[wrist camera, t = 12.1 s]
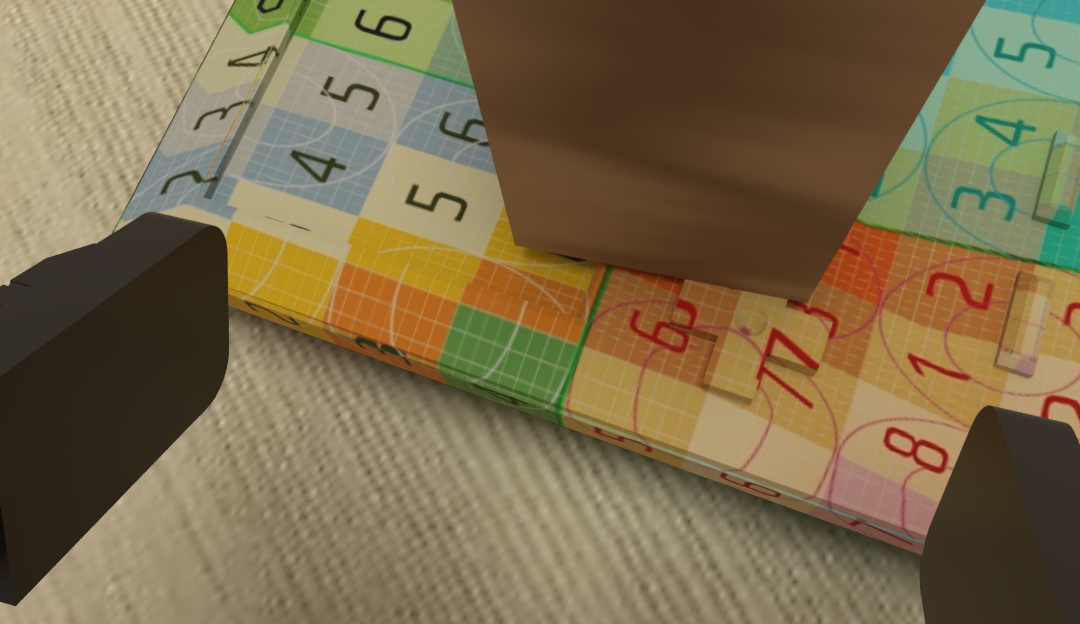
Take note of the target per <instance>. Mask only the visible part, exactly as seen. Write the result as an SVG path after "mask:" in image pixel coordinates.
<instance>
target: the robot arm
mask: <svg viewBox="0 0 1080 624" xmlns="http://www.w3.org/2000/svg"><path fill="white" fill-rule="evenodd" d="M228 357H229V311H228V250H227V242H226V239H225V236H224V234H223V232H222V230H221V229H220V228H219V227H217V226H214V225H210V224H205V223H201V222H197V221H192V220H188V219H184V218H179V217H175V216H170V215H166V214H162V213H157V212H147V213H144V214H142V215H141V216H139V217H138V218H136V219H134V220H133V221H131V222H130V223H128V224H127V225H125V226H124V227H122V228H120V229H119V230H117V231H116V232H114V233H113V234H111V235H109V236H108V237H106V238H105V239H103V240H102V241H100V242H98V243H97V244H95V243H94V244H91V245H87V246H84V247H81V248H78V249H74V250H71V251H68V252H65V253H62V254H58V255H55V256H52V257H49V258H46V259H44V260H43V261H41V262H39V263H38V264H36V265H34V266H33V267H31V268H30V269H28V270H26V271H25V272H23V273H21V274H20V275H18V276H17V277H15V278H13V279H12V280H10V285H9V286H6V285H2V286H0V602H3V603H6V604H10V605H13V606H16V605H17V604H18V603H19V602H20V601H21V600H22V599H23V598H24V597H25V596H26V595H27V594H28V593H29V592H30V591H31V590H32V589H33V588H34V587H35V586H36V585H37V584H38V583H39V582H40V581H41V579H42V578H43V577H44V576H45V575H46V574H47V573H48V572H49V571H50V570H51V569H52V568H53V567H54V566H55V565H56V564H57V563H58V562H59V561H60V560H61V559H62V558H63V557H64V556H65V555H66V554H67V553H68V552H69V551H70V549H71V548H72V547H73V546H74V545H75V544H76V543H77V542H78V541H79V540H80V539H81V538H82V537H83V536H84V535H85V534H86V533H87V532H88V531H89V530H90V529H91V528H92V527H93V526H94V525H95V524H96V523H97V522H98V520H99V519H100V518H101V517H102V516H103V515H104V514H105V513H106V512H107V511H108V510H109V509H110V508H111V507H112V506H113V505H114V504H115V503H116V502H117V501H118V500H119V499H120V498H121V497H122V496H123V495H124V494H125V493H126V491H127V490H128V489H129V488H130V487H131V486H132V485H133V484H134V483H135V482H136V481H137V480H138V479H139V478H140V477H141V476H142V475H143V474H144V473H145V472H146V471H147V470H148V469H149V468H150V467H151V466H152V465H153V464H154V462H155V461H156V460H157V459H158V458H159V457H160V456H161V455H162V454H163V453H164V452H165V451H166V450H167V449H168V448H169V447H170V446H171V445H172V444H173V443H174V442H175V441H176V440H177V439H178V438H179V437H180V436H181V435H182V433H183V432H184V431H185V430H186V429H187V428H188V427H189V426H190V425H191V424H192V423H193V422H194V421H195V420H196V419H197V418H198V417H199V416H200V415H201V414H202V413H203V412H204V411H205V410H206V409H207V408H208V406H209V405H210V404H211V403H212V401H213V400H214V398H215V397H216V395H217V393H218V391H219V389H220V387H221V385H222V382H223V379H224V376H225V373H226V369H227V364H228ZM920 590H921V597H922V604H923V610H924V617H925V623H926V624H1080V444H1079V441H1078V439H1077V437H1076V434H1075V432H1074V430H1073V428H1072V427H1071V426H1070V425H1069V424H1068V423H1065V422H1061V421H1057V420H1052V419H1048V418H1043V417H1039V416H1035V415H1030V414H1026V413H1022V412H1017V411H1013V410H1009V409H1004V408H1000V407H996V406H991V405H987V406H985V407H983V408H982V409H981V410H980V411H979V413H978V414H977V416H976V417H975V419H974V421H973V423H972V425H971V427H970V430H969V432H968V435H967V437H966V439H965V442H964V444H963V447H962V449H961V451H960V454H959V456H958V459H957V461H956V464H955V466H954V468H953V471H952V473H951V476H950V478H949V480H948V483H947V485H946V488H945V490H944V492H943V495H942V497H941V500H940V502H939V505H938V507H937V509H936V512H935V514H934V517H933V519H932V521H931V524H930V527H929V529H928V532H927V536H926V539H925V543H924V548H923V553H922V559H921V568H920Z"/></svg>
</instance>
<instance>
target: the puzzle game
mask: <svg viewBox="0 0 1080 624" xmlns="http://www.w3.org/2000/svg"><path fill="white" fill-rule="evenodd" d="M147 212H157V213H162V214H166V215H170V216H175V217H179V218H184V219H188V220H192V221H197V222H201V223H205V224H210V225H214V226H217V227H219V228H220V229H221V230H222V232H223V234H224V236H225V239H226V242H227V250H228V306H231V307H233V308H236V309H239V310H242V311H244V312H247V313H250V314H253V315H256V316H258V317H261V318H264V319H267V320H269V321H272V322H275V323H278V324H281V325H283V326H286V327H289V328H292V329H294V330H297V331H300V332H303V333H306V334H308V335H311V336H314V337H317V338H319V339H322V340H325V341H328V342H331V343H333V344H336V345H339V346H342V347H344V348H347V349H350V350H353V351H355V352H358V353H361V354H364V355H367V356H369V357H372V358H375V359H378V360H380V361H383V362H386V363H389V364H392V365H394V366H397V367H400V368H403V369H405V370H408V371H411V372H414V373H417V374H419V375H422V376H425V377H428V378H430V379H433V380H436V381H439V382H442V383H444V384H447V385H450V386H453V387H455V388H458V389H461V390H464V391H467V392H469V393H472V394H475V395H478V396H480V397H483V398H486V399H489V400H492V401H494V402H497V403H500V404H503V405H505V406H508V407H511V408H514V409H517V410H519V411H522V412H525V413H528V414H530V415H533V416H536V417H539V418H542V419H544V420H547V421H550V422H553V423H555V424H558V425H561V426H564V427H566V428H569V429H572V430H575V431H578V432H580V433H583V434H586V435H589V436H591V437H594V438H597V439H600V440H603V441H605V442H608V443H611V444H614V445H616V446H619V447H622V448H625V449H628V450H630V451H633V452H636V453H639V454H641V455H644V456H647V457H650V458H653V459H655V460H658V461H661V462H664V463H666V464H669V465H672V466H675V467H678V468H680V469H683V470H686V471H689V472H691V473H694V474H697V475H700V476H703V477H705V478H708V479H711V480H714V481H716V482H719V483H722V484H725V485H728V486H730V487H733V488H736V489H739V490H741V491H744V492H747V493H750V494H753V495H755V496H758V497H761V498H764V499H766V500H769V501H772V502H775V503H778V504H780V505H783V506H786V507H789V508H791V509H794V510H797V511H800V512H802V513H805V514H808V515H811V516H814V517H816V518H819V519H822V520H825V521H827V522H830V523H833V524H836V525H839V526H841V527H844V528H847V529H850V530H852V531H855V532H858V533H861V534H864V535H866V536H869V537H872V538H875V539H877V540H880V541H883V542H886V543H889V544H891V545H894V546H897V547H900V548H902V549H905V550H908V551H911V552H914V553H916V554H919V555H922V553H923V548H924V543H925V539H926V536H927V532H928V529H929V527H930V524H931V521H932V519H933V517H934V514H935V512H936V509H937V507H938V505H939V502H940V500H941V497H942V495H943V492H944V490H945V488H946V485H947V483H948V480H949V478H950V476H951V473H952V471H953V468H954V466H955V464H956V461H957V459H958V456H959V454H960V451H961V449H962V447H963V444H964V442H965V439H966V437H967V435H968V432H969V430H970V427H971V425H972V423H973V421H974V419H975V417H976V416H977V414H978V413H979V411H980V410H981V409H982V408H983V407H985V406H987V405H991V406H996V407H1000V408H1004V409H1009V410H1013V411H1017V412H1022V413H1026V414H1030V415H1035V416H1039V417H1043V418H1048V419H1052V420H1057V421H1061V422H1065V423H1068V424H1069V425H1070V426H1071V427H1072V428H1073V430H1074V432H1075V434H1076V437H1077V439H1078V441H1079V444H1080V0H986V2H985V3H984V5H983V7H982V8H981V10H980V12H979V13H978V15H977V17H976V18H975V20H974V22H973V24H972V25H971V27H970V29H969V30H968V32H967V34H966V35H965V37H964V39H963V40H962V42H961V44H960V45H959V47H958V49H957V51H956V52H955V54H954V56H953V57H952V59H951V61H950V62H949V64H948V66H947V67H946V69H945V71H944V72H943V74H942V76H941V77H940V79H939V81H938V83H937V84H936V86H935V88H934V89H933V91H932V93H931V94H930V96H929V98H928V99H927V101H926V103H925V104H924V106H923V108H922V110H921V111H920V113H919V115H918V116H917V118H916V120H915V121H914V123H913V125H912V126H911V128H910V130H909V131H908V133H907V135H906V137H905V138H904V140H903V142H902V143H901V145H900V147H899V148H898V150H897V152H896V153H895V155H894V157H893V158H892V160H891V162H890V164H889V165H888V167H887V169H886V170H885V172H884V174H883V175H882V177H881V179H880V180H879V182H878V184H877V185H876V187H875V189H874V191H873V192H872V194H871V196H870V197H869V199H868V201H867V202H866V204H865V206H864V207H863V209H862V211H861V212H860V214H859V216H858V218H857V219H856V221H855V223H854V224H853V226H852V228H851V229H850V231H849V233H848V234H847V236H846V238H845V239H844V241H843V243H842V245H841V246H840V248H839V250H838V251H837V253H836V255H835V256H834V258H833V260H832V261H831V263H830V265H829V266H828V268H827V270H826V272H825V273H824V275H823V277H822V278H821V280H820V282H819V283H818V285H817V287H816V288H815V290H814V292H813V293H812V295H811V297H810V299H809V300H808V302H807V303H802V302H797V301H792V300H787V299H782V298H777V297H772V296H767V295H762V294H757V293H752V292H747V291H742V290H737V289H732V288H727V287H722V286H717V285H712V284H707V283H702V282H697V281H692V280H687V279H681V278H676V277H671V276H666V275H661V274H656V273H651V272H646V271H641V270H636V269H631V268H626V267H621V266H616V265H611V264H606V263H601V262H596V261H591V260H586V259H581V258H576V257H571V256H566V255H561V254H556V253H551V252H546V251H541V250H536V249H531V248H526V247H521V246H515V243H514V239H513V235H512V231H511V227H510V223H509V220H508V216H507V212H506V208H505V204H504V200H503V197H502V193H501V189H500V185H499V181H498V177H497V173H496V170H495V166H494V162H493V158H492V154H491V150H490V146H489V143H488V139H487V135H486V131H485V127H484V123H483V119H482V116H481V112H480V108H479V104H478V100H477V96H476V92H475V89H474V85H473V81H472V77H471V73H470V69H469V65H468V62H467V58H466V54H465V50H464V46H463V42H462V38H461V35H460V31H459V27H458V23H457V19H456V15H455V12H454V8H453V4H452V0H235V1H234V3H233V5H232V7H231V8H230V10H229V12H228V14H227V16H226V18H225V20H224V22H223V24H222V26H221V27H220V29H219V31H218V33H217V35H216V37H215V39H214V41H213V43H212V45H211V46H210V48H209V50H208V52H207V54H206V56H205V58H204V60H203V62H202V64H201V65H200V67H199V69H198V71H197V73H196V75H195V77H194V79H193V81H192V83H191V85H190V86H189V88H188V90H187V92H186V94H185V96H184V98H183V100H182V102H181V104H180V105H179V107H178V109H177V111H176V113H175V115H174V117H173V119H172V121H171V123H170V124H169V126H168V128H167V130H166V132H165V134H164V136H163V138H162V140H161V142H160V143H159V145H158V147H157V149H156V151H155V153H154V155H153V157H152V159H151V161H150V162H149V164H148V166H147V168H146V170H145V172H144V174H143V176H142V178H141V180H140V181H139V183H138V185H137V187H136V189H135V191H134V193H133V195H132V197H131V199H130V200H129V202H128V204H127V206H126V208H125V210H124V212H123V214H122V216H121V218H120V219H119V221H118V223H117V225H116V227H115V229H114V231H113V233H114V232H116V231H117V230H119V229H120V228H122V227H124V226H125V225H127V224H128V223H130V222H131V221H133V220H134V219H136V218H138V217H139V216H141V215H142V214H144V213H147ZM113 233H112V234H113Z"/></svg>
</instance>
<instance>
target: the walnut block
mask: <svg viewBox="0 0 1080 624" xmlns="http://www.w3.org/2000/svg"><path fill="white" fill-rule="evenodd" d="M985 2H986V0H452V4H453V8H454V12H455V15H456V19H457V23H458V27H459V31H460V35H461V38H462V42H463V46H464V50H465V54H466V58H467V62H468V65H469V69H470V73H471V77H472V81H473V85H474V89H475V92H476V96H477V100H478V104H479V108H480V112H481V116H482V119H483V123H484V127H485V131H486V135H487V139H488V143H489V146H490V150H491V154H492V158H493V162H494V166H495V170H496V173H497V177H498V181H499V185H500V189H501V193H502V197H503V200H504V204H505V208H506V212H507V216H508V220H509V223H510V227H511V231H512V235H513V239H514V243H515V246H521V247H526V248H531V249H536V250H541V251H546V252H551V253H556V254H561V255H566V256H571V257H576V258H581V259H586V260H591V261H596V262H601V263H606V264H611V265H616V266H621V267H626V268H631V269H636V270H641V271H646V272H651V273H656V274H661V275H666V276H671V277H676V278H681V279H687V280H692V281H697V282H702V283H707V284H712V285H717V286H722V287H727V288H732V289H737V290H742V291H747V292H752V293H757V294H762V295H767V296H772V297H777V298H782V299H787V300H792V301H797V302H802V303H807V302H808V300H809V299H810V297H811V295H812V293H813V292H814V290H815V288H816V287H817V285H818V283H819V282H820V280H821V278H822V277H823V275H824V273H825V272H826V270H827V268H828V266H829V265H830V263H831V261H832V260H833V258H834V256H835V255H836V253H837V251H838V250H839V248H840V246H841V245H842V243H843V241H844V239H845V238H846V236H847V234H848V233H849V231H850V229H851V228H852V226H853V224H854V223H855V221H856V219H857V218H858V216H859V214H860V212H861V211H862V209H863V207H864V206H865V204H866V202H867V201H868V199H869V197H870V196H871V194H872V192H873V191H874V189H875V187H876V185H877V184H878V182H879V180H880V179H881V177H882V175H883V174H884V172H885V170H886V169H887V167H888V165H889V164H890V162H891V160H892V158H893V157H894V155H895V153H896V152H897V150H898V148H899V147H900V145H901V143H902V142H903V140H904V138H905V137H906V135H907V133H908V131H909V130H910V128H911V126H912V125H913V123H914V121H915V120H916V118H917V116H918V115H919V113H920V111H921V110H922V108H923V106H924V104H925V103H926V101H927V99H928V98H929V96H930V94H931V93H932V91H933V89H934V88H935V86H936V84H937V83H938V81H939V79H940V77H941V76H942V74H943V72H944V71H945V69H946V67H947V66H948V64H949V62H950V61H951V59H952V57H953V56H954V54H955V52H956V51H957V49H958V47H959V45H960V44H961V42H962V40H963V39H964V37H965V35H966V34H967V32H968V30H969V29H970V27H971V25H972V24H973V22H974V20H975V18H976V17H977V15H978V13H979V12H980V10H981V8H982V7H983V5H984V3H985Z"/></svg>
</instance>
